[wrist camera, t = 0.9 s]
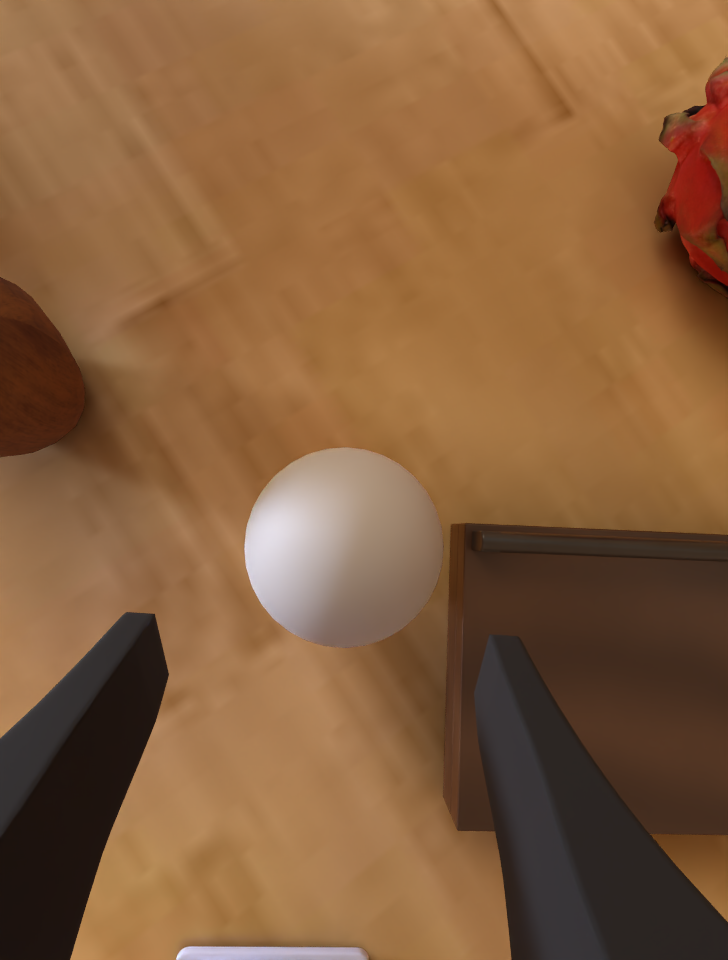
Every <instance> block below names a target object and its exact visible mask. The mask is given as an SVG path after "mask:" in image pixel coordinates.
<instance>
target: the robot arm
mask: <svg viewBox="0 0 728 960" xmlns="http://www.w3.org/2000/svg"><path fill="white" fill-rule="evenodd" d="M168 676H169V673H168V669H167V664H166V660H165V656H164V652H163V647H162V643H161V639H160V635H159V630H158V626H157V622H156V618H155V614H147V613H131V612H126V613H125V614H124V615H122V616H121V618H120V619H119V620H118V621H117V622H116V623H115V624H114V625H113V626H112V627H111V628H110V629H109V630H108V631H107V633H106V634H105V635H104V636H103V637H102V638H101V639H100V640H99V641H98V642H97V643H96V644H95V645H94V647H93V648H92V649H91V650H90V651H89V652H88V653H87V654H86V655H85V656H84V657H83V658H82V659H81V660H80V661H79V662H78V663H77V664H76V665H75V667H74V668H73V669H72V670H71V671H70V672H69V673H68V674H67V675H66V676H65V677H64V678H63V679H62V680H61V681H60V682H59V683H58V684H57V685H56V686H55V687H54V688H53V689H52V690H51V691H50V692H49V693H48V694H47V695H46V696H45V697H44V698H43V699H42V700H41V701H40V702H39V703H38V704H37V705H36V706H35V707H34V708H32V709H31V710H30V711H29V712H28V713H27V714H26V715H25V716H24V717H23V718H22V719H21V720H20V721H19V722H17V723H16V724H15V725H14V726H13V727H12V728H11V729H10V730H9V731H8V732H7V733H6V734H5V735H4V736H2V737H1V738H0V960H70V958H71V955H72V951H73V948H74V944H75V941H76V938H77V934H78V931H79V928H80V924H81V921H82V917H83V914H84V911H85V907H86V904H87V901H88V898H89V895H90V891H91V888H92V885H93V882H94V879H95V875H96V872H97V869H98V866H99V863H100V860H101V856H102V853H103V851H104V848H105V845H106V843H107V840H108V837H109V834H110V832H111V829H112V827H113V824H114V822H115V819H116V817H117V815H118V812H119V810H120V807H121V805H122V802H123V800H124V798H125V795H126V793H127V790H128V788H129V786H130V783H131V781H132V778H133V776H134V773H135V771H136V769H137V766H138V764H139V761H140V759H141V757H142V754H143V752H144V749H145V747H146V744H147V742H148V739H149V737H150V734H151V732H152V729H153V727H154V724H155V722H156V718H157V715H158V712H159V708H160V705H161V701H162V698H163V694H164V691H165V687H166V683H167V679H168ZM474 698H475V712H476V724H477V735H478V744H479V749H480V755H481V760H482V765H483V771H484V776H485V781H486V786H487V792H488V797H489V802H490V807H491V812H492V818H493V823H494V828H495V833H496V838H497V843H498V849H499V854H500V860H501V867H502V873H503V880H504V889H505V899H506V908H507V918H508V927H509V937H510V947H511V958H512V960H728V922H727V921H726V920H725V919H724V918H723V917H722V916H721V914H720V913H719V912H718V911H717V910H716V909H715V908H714V907H713V906H712V905H711V903H710V902H709V901H708V900H707V899H706V898H705V897H704V896H703V895H702V894H701V892H700V891H699V890H698V889H697V888H696V887H695V886H694V885H693V884H692V883H691V881H690V880H689V879H688V878H687V877H686V876H685V875H684V874H683V873H682V872H681V870H680V869H679V868H678V867H677V866H676V865H675V864H674V862H673V861H672V860H671V859H670V858H669V857H668V855H667V854H666V853H665V852H664V851H663V849H662V848H661V847H660V846H659V845H658V843H657V842H656V841H655V840H654V839H653V837H652V836H651V835H650V834H649V833H648V831H647V830H646V829H645V828H644V826H643V825H642V824H641V823H640V821H639V820H638V819H637V817H636V816H635V815H634V814H633V812H632V811H631V810H630V809H629V807H628V806H627V805H626V803H625V802H624V801H623V799H622V798H621V797H620V796H619V794H618V793H617V791H616V790H615V789H614V787H613V786H612V785H611V783H610V782H609V781H608V779H607V778H606V776H605V775H604V774H603V772H602V771H601V769H600V768H599V766H598V765H597V764H596V762H595V761H594V759H593V758H592V757H591V755H590V754H589V752H588V751H587V749H586V748H585V746H584V745H583V743H582V742H581V740H580V739H579V737H578V735H577V734H576V732H575V731H574V729H573V728H572V726H571V725H570V723H569V721H568V720H567V718H566V717H565V715H564V714H563V712H562V710H561V709H560V707H559V706H558V704H557V702H556V701H555V699H554V697H553V696H552V694H551V692H550V690H549V689H548V687H547V685H546V684H545V682H544V680H543V678H542V677H541V675H540V673H539V671H538V670H537V668H536V666H535V664H534V662H533V661H532V659H531V657H530V655H529V653H528V651H527V649H526V647H525V646H524V644H523V642H522V640H521V639H520V638H519V637H518V636H509V635H492V634H489V638H488V642H487V645H486V649H485V653H484V657H483V661H482V665H481V668H480V672H479V676H478V680H477V684H476V688H475V691H474ZM176 960H369V956H368V954H367V952H366V951H365V950H364V949H362V948H359V947H199V946H190V947H185V948H183V949H182V950H181V951H180V952H179V954H178V956H177V958H176Z"/></svg>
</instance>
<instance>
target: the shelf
mask: <svg viewBox="0 0 728 960" xmlns="http://www.w3.org/2000/svg"><path fill="white" fill-rule="evenodd" d="M489 634H492V635H509V636H518V637H519V638H520V639H521V640H522V642H523V644H524V646H525V647H526V649H527V651H528V653H529V655H530V657H531V659H532V661H533V662H534V664H535V666H536V668H537V670H538V671H539V673H540V675H541V677H542V678H543V680H544V682H545V684H546V685H547V687H548V689H549V690H550V692H551V694H552V696H553V697H554V699H555V701H556V702H557V704H558V706H559V707H560V709H561V710H562V712H563V714H564V715H565V717H566V718H567V720H568V721H569V723H570V725H571V726H572V728H573V729H574V731H575V732H576V734H577V735H578V737H579V739H580V740H581V742H582V743H583V745H584V746H585V748H586V749H587V751H588V752H589V754H590V755H591V757H592V758H593V759H594V761H595V762H596V764H597V765H598V766H599V768H600V769H601V771H602V772H603V774H604V775H605V776H606V778H607V779H608V781H609V782H610V783H611V785H612V786H613V787H614V789H615V790H616V791H617V793H618V794H619V796H620V797H621V798H622V799H623V801H624V802H625V803H626V805H627V806H628V807H629V809H630V810H631V811H632V812H633V814H634V815H635V816H636V817H637V819H638V820H639V821H640V823H641V824H642V825H643V826H644V828H645V829H646V830H647V831H648V833H649V834H693V835H728V535H720V534H697V533H675V532H652V531H630V530H607V529H585V528H562V527H540V526H517V525H495V524H472V523H461V524H451V538H450V574H449V609H448V644H447V680H446V715H445V751H444V786H443V797H444V800H445V802H446V804H447V807H448V809H449V812H450V814H451V816H452V819H453V821H454V824H455V826H456V829H457V830H458V831H495V828H494V823H493V818H492V812H491V807H490V802H489V797H488V792H487V786H486V781H485V776H484V771H483V765H482V760H481V755H480V749H479V744H478V735H477V724H476V712H475V698H474V691H475V688H476V684H477V680H478V676H479V672H480V668H481V665H482V661H483V657H484V653H485V649H486V645H487V642H488V638H489Z"/></svg>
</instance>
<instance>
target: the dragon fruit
mask: <svg viewBox="0 0 728 960" xmlns="http://www.w3.org/2000/svg"><path fill="white" fill-rule="evenodd" d="M705 92H706V97H707V104H706V105H705V106H694V107H692V108H690V109H688V110H685V111H683V112H682V113H675V114H670V115H668V116H666V117H665V118H664V123H663V130H662V132H661V134H660V137H659V141H660V142H661V143H662V144H663V145H664V146H665V147H666V148H668V150H670V151H671V152H674V153H675V154H676V155H677V158H678V163H677V166H676V169H675V172H674V175H673V177H672V180H671V183H670V185H669V187H668V190H667V193H666V194H665V195H664V196H663V198H662V199H661V202H660V205H659V207H658V210H657V215H656V218H655V221H654V224H655V227H656V229H657V231H659V232H660V233H661V232H670V231H672V230H673V227H674V225H675V223H676V225H677V227H678V229H679V232H680V236H681V240H682V243H683V244H684V246H685V248H686V249H687V251H688V253H689V254H690V256H689V259H690V264H691V266H693V267H694V268H695V269H696V270H697V271H698V272H699V273H698V275H697V277H698V278H699V279H700V280H701V281H702V282H704V283H706V284H708V285H709V286H710V287H711V288H712V289H714V290H716V291H717V292H719V293H721V294H723V295H724V296H726V297H727V298H728V58H726V57H725V59H724V61H723V62H722V63H721V64H720V65H719V66H718V67H717V68H716V69H715V70H714V71H713V72H712V74H711V75H710V77H709V79H708V82H707V84H706V88H705Z"/></svg>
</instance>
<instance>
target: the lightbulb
mask: <svg viewBox="0 0 728 960" xmlns="http://www.w3.org/2000/svg"><path fill="white" fill-rule="evenodd" d="M443 547H444V545H443V536H442V527H441V524H440V520H439V517H438V514H437V511H436V508H435V506H434V504H433V502H432V500H431V498H430V497H429V495H428V493H427V491H426V490H425V489H424V487H423V486H422V485H421V484H420V483H419V481H418V480H417V479H416V478H415V476H413V475H412V474H411V473H410V472H409V471H407V470H406V469H405V468H404V467H402V466H401V465H400V464H398V463H397V462H395V461H393V460H391V459H389V458H387V457H386V456H384V455H381V454H378V453H375V452H371V451H368V450H365V449H357V448H348V447H343V448H331V449H324V450H321V451H317V452H314V453H310V454H307V455H305V456H303V457H301V458H300V459H298V460H296V461H294V462H292V463H290V464H289V465H288V466H286V467H285V468H284V469H282V470H281V471H280V472H279V473H277V474H276V475H275V476H274V477H273V478H272V480H271V481H270V482H269V483H268V484H267V485H266V487H265V488H264V489H263V490H262V492H261V494H260V495H259V497H258V499H257V501H256V503H255V504H254V506H253V508H252V511H251V514H250V518H249V521H248V524H247V528H246V536H245V544H244V548H245V561H246V568H247V571H248V575H249V578H250V582H251V585H252V587H253V589H254V591H255V593H256V595H257V597H258V599H259V601H260V603H261V604H262V605H263V606H264V608H265V609H266V610H267V611H268V613H269V614H270V615H271V616H272V618H273V619H275V620H276V621H277V622H278V623H279V624H281V625H282V626H283V627H284V628H285V629H287V630H288V631H289V632H291V633H293V634H295V635H297V636H299V637H301V638H302V639H304V640H306V641H310V642H313V643H316V644H320V645H323V646H329V647H340V648H349V647H358V646H365V645H368V644H371V643H375V642H378V641H381V640H384V639H385V638H387V637H389V636H391V635H393V634H394V633H396V632H398V631H400V630H401V629H402V628H404V627H405V626H406V625H407V624H408V623H409V622H411V621H412V620H413V619H414V618H415V617H416V616H417V615H418V614H419V612H420V611H421V610H422V608H423V607H424V606H425V605H426V603H427V602H428V600H429V598H430V596H431V594H432V592H433V590H434V589H435V587H436V585H437V581H438V578H439V574H440V571H441V567H442V559H443Z"/></svg>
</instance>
